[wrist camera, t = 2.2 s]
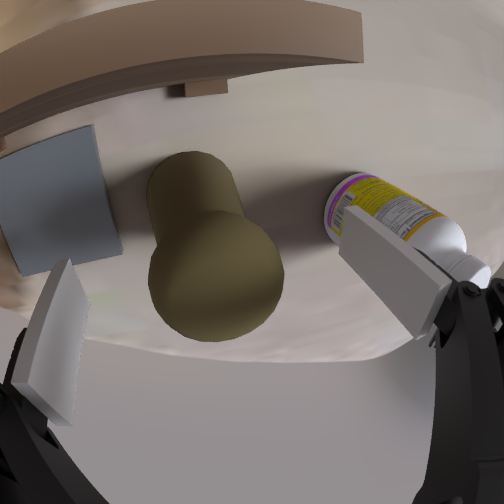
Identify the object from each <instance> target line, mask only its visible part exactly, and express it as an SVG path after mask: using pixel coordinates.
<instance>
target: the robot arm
mask: <svg viewBox="0 0 504 504" xmlns="http://www.w3.org/2000/svg"><path fill="white" fill-rule="evenodd" d="M339 255H340V256H341V257H342V258H343V259H344V260H345V261H346V262H347V263H348V264H349V265H350V266H351V268H352V269H353V270H354V271H355V272H356V273H357V274H358V275H359V276H360V277H361V278H362V279H363V280H364V281H365V283H366V284H367V285H368V286H369V287H370V288H371V289H372V290H373V291H374V292H375V294H376V295H377V296H378V297H379V298H380V299H381V300H382V301H383V302H384V304H385V305H386V306H387V307H388V308H389V309H390V310H391V312H392V313H393V314H394V315H395V316H396V317H397V318H398V320H399V321H400V322H401V323H402V324H403V325H404V327H405V328H406V329H407V330H408V331H409V332H410V334H411V335H412V336H413V337H414V338H415V339H416V340H417V339H419V338H421V337H422V336H424V335H426V334H428V333H429V331H430V329H431V327H432V325H433V323H434V324H435V325H436V326H437V330H436V331H435V333H434V335H433V337H432V339H431V341H430V343H429V347H431V346H432V344H433V342H434V341H435V346H434V347H435V348H436V389H435V408H434V420H433V429H432V439H431V446H430V453H429V459H428V464H427V470H426V475H425V480H424V483H423V486H422V487H421V489H420V490H419V491H418V493H417V494H416V496H415V498H414V500H413V503H412V504H504V279H501V278H494V279H492V280H491V283H490V285H489V287H488V288H483V289H481V288H480V287H479V286H478V285H476V284H475V283H473V282H470V281H464V280H463V281H460V282H458V281H457V280H455V279H454V278H453V277H452V276H451V275H450V274H449V273H447V272H446V271H445V270H444V269H443V268H442V267H440V266H439V265H438V264H436V262H434V261H433V260H432V259H430V257H428V256H427V255H426V254H425V253H423V252H422V251H420V250H418V249H416V248H414V247H412V246H410V245H409V244H408V243H407V242H405V241H404V240H403V239H401V238H400V237H399V236H398V235H396V234H395V233H394V232H392V231H391V230H390V229H388V228H387V227H386V226H384V225H383V224H382V223H380V222H379V221H378V220H376V219H375V218H374V217H372V216H371V215H369V214H368V213H367V212H365V211H364V210H363V209H361V208H360V207H358V206H357V205H355V206H348V207H344V213H343V223H342V232H341V240H340V248H339ZM89 309H90V303H89V301H88V299H87V297H86V294H85V292H84V290H83V288H82V286H81V284H80V281H79V279H78V277H77V275H76V272H75V270H74V268H73V265H72V263H71V260H70V258H68V259H63V260H59V261H56V262H55V264H54V267H53V269H52V271H51V273H50V275H49V277H48V279H47V281H46V284H45V286H44V288H43V290H42V293H41V295H40V297H39V300H38V302H37V304H36V307H35V309H34V312H33V314H32V317H31V320H30V322H29V325H28V328H24V329H23V330H22V332H21V333H20V334H19V336H18V337H17V340H16V342H15V345H14V350H13V351H12V354H11V359H10V361H9V364H8V368H7V371H6V374H5V379H4V382H3V385H2V384H1V383H0V504H109V503H108V502H107V501H106V500H105V499H104V498H103V496H102V495H101V494H100V493H99V492H98V491H97V490H96V489H95V488H94V486H93V485H92V484H91V483H90V482H89V481H88V479H87V478H86V477H85V476H84V475H83V473H82V472H81V471H80V470H79V468H78V467H77V466H76V464H75V463H74V462H73V461H72V459H71V458H70V456H69V455H68V454H67V452H66V451H65V450H64V448H63V447H62V445H61V444H60V443H59V441H58V440H57V438H56V437H55V435H54V434H53V432H52V431H51V430H50V429H49V427H47V420H48V419H49V420H50V421H51V422H53V423H54V424H55V425H56V426H73V420H74V405H75V395H76V385H77V377H78V369H79V362H80V356H81V350H82V344H83V338H84V333H85V328H86V323H87V318H88V313H89ZM500 319H501V321H502V323H503V325H502V326H501V328H500V329H499V331H498V332H497V330H496V329H495V327H496V325H497V323H498V322H499V320H500Z"/></svg>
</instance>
